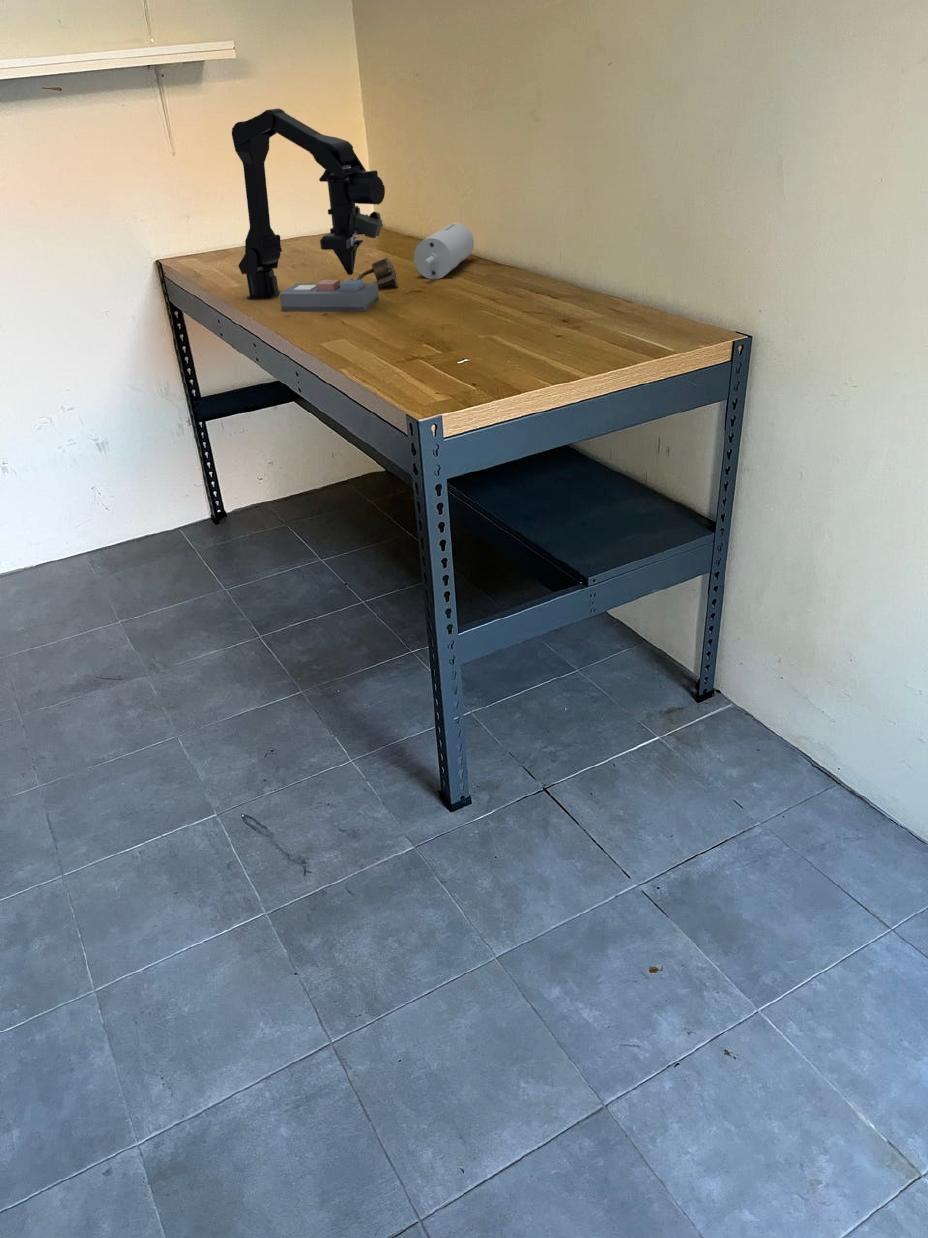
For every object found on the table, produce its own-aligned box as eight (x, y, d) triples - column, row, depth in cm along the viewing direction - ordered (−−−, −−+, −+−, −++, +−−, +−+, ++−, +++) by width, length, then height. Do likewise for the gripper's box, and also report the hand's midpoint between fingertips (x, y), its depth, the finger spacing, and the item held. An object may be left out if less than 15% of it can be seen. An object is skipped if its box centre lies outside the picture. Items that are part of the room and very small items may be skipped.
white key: (295, 302, 226) (293, 289, 224) (301, 297, 229) (300, 284, 228) (312, 302, 225) (310, 289, 223) (318, 297, 228) (316, 284, 227)
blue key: (341, 296, 222) (339, 283, 221) (347, 292, 226) (345, 279, 224) (358, 296, 221) (357, 283, 220) (364, 292, 225) (363, 279, 223)
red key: (317, 296, 224) (315, 283, 222) (324, 292, 227) (322, 279, 226) (334, 296, 223) (333, 283, 221) (341, 292, 226) (339, 279, 225)
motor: (446, 284, 239) (443, 242, 234) (408, 284, 242) (405, 242, 237) (476, 259, 264) (475, 220, 259) (442, 259, 267) (440, 221, 261)
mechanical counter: (394, 270, 232) (401, 252, 239) (344, 266, 233) (352, 249, 240) (395, 297, 237) (402, 280, 244) (346, 294, 238) (354, 276, 245)
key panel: (281, 310, 224) (279, 293, 222) (298, 299, 233) (296, 283, 231) (364, 311, 219) (362, 293, 217) (378, 299, 228) (377, 282, 226)
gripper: (363, 209, 203) (370, 283, 212) (388, 195, 219) (394, 265, 227) (315, 209, 206) (324, 283, 214) (343, 196, 221) (351, 265, 229)
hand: (350, 274), depth 221 cm, fingers closed
